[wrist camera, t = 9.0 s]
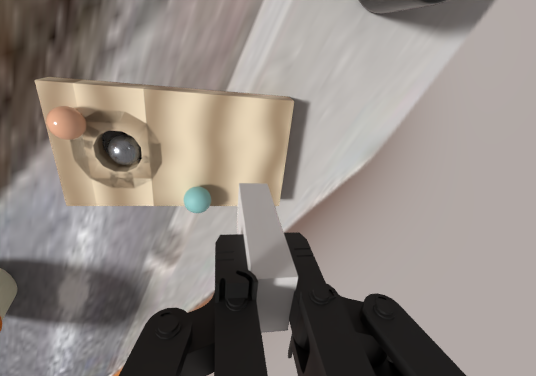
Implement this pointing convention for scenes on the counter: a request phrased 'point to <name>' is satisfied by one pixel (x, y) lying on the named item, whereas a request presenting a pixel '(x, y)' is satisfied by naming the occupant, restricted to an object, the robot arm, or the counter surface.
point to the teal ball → (197, 199)
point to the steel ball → (124, 149)
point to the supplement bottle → (396, 5)
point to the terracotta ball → (66, 122)
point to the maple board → (167, 142)
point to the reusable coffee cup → (6, 293)
